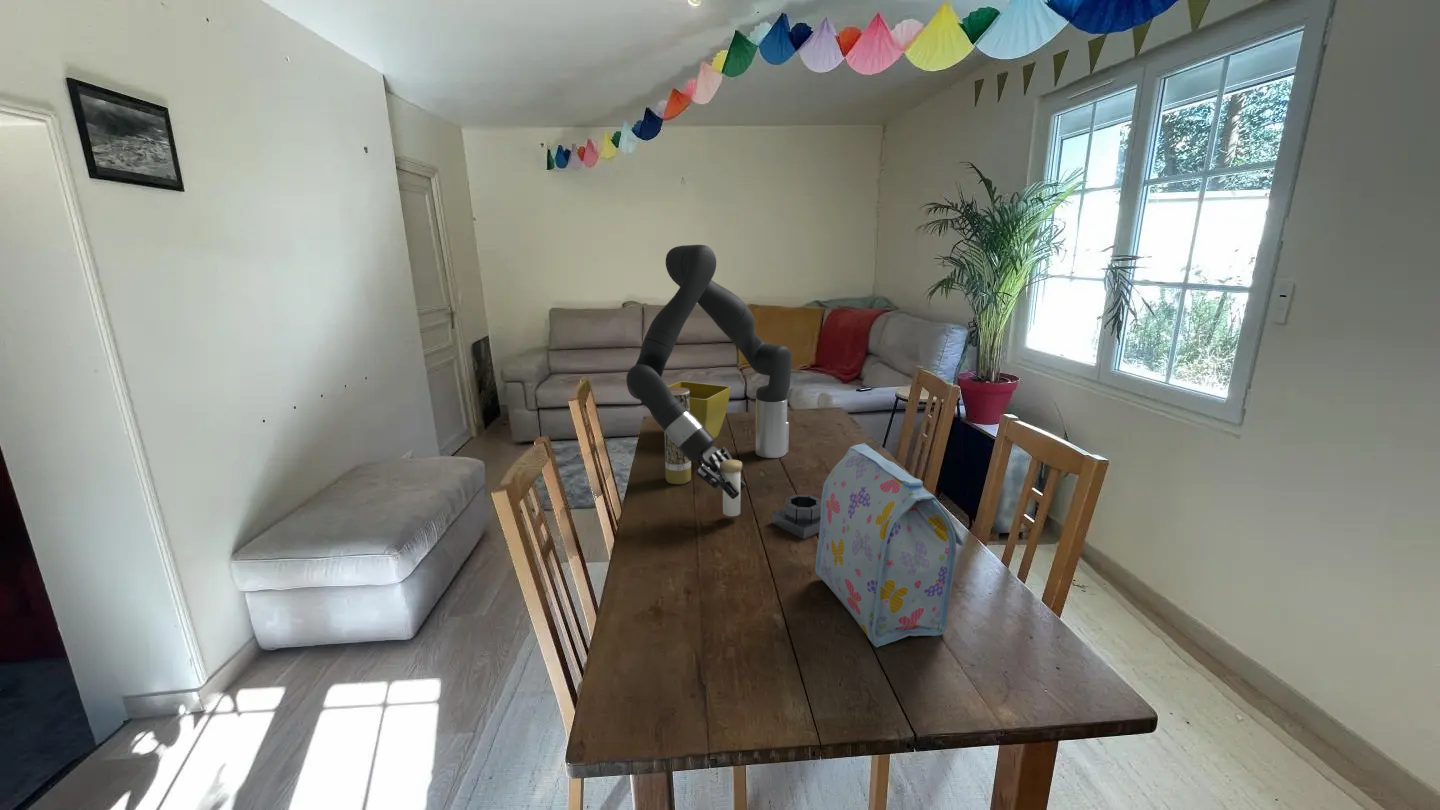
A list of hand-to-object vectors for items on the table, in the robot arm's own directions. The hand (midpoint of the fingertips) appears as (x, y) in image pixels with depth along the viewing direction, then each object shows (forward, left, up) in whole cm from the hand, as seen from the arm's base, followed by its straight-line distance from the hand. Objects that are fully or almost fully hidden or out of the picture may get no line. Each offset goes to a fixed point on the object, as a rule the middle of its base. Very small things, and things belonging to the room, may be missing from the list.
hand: (739, 492), depth 132 cm
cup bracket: (-10, +10, -7) cm, 16 cm away
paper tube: (-3, -29, -7) cm, 30 cm away
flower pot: (-27, -55, -7) cm, 61 cm away
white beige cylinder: (+1, -2, -5) cm, 6 cm away
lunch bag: (+2, +40, -7) cm, 41 cm away
